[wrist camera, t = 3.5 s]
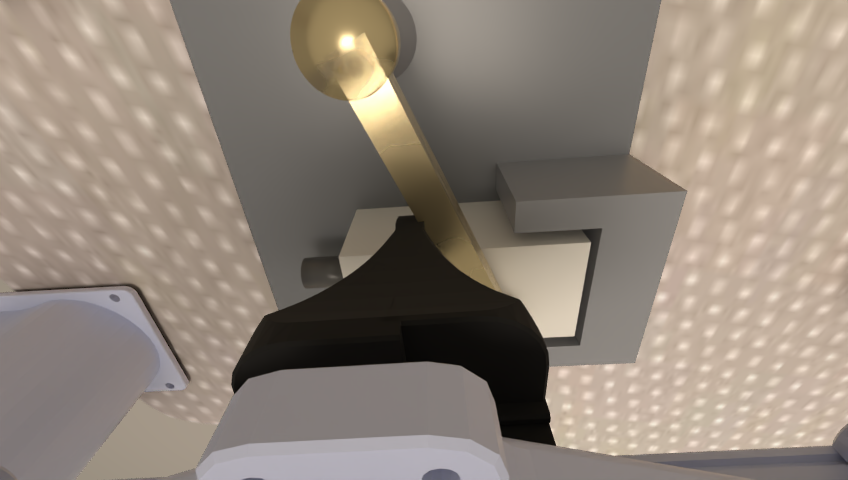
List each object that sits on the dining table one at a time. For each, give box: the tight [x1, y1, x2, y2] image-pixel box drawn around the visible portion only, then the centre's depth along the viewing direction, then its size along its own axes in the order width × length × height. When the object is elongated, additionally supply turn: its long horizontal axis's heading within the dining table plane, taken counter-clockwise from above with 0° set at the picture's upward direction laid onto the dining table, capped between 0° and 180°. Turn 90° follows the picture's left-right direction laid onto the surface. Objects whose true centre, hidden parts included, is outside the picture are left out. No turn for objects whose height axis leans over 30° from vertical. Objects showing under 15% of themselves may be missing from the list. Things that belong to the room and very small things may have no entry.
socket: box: [170, 0, 687, 367], centre depth 16 cm, size 17×19×5 cm
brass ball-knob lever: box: [290, 0, 503, 293], centre depth 11 cm, size 2×13×1 cm, turn 27°
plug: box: [301, 200, 591, 338], centre depth 16 cm, size 11×4×4 cm, turn 94°
